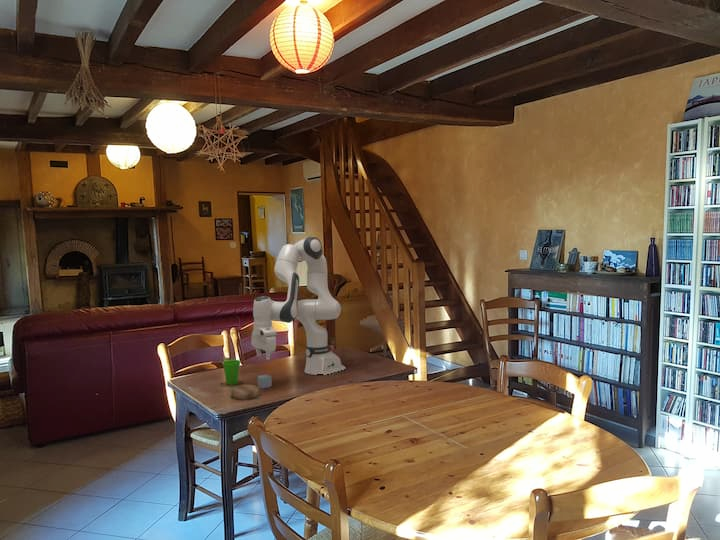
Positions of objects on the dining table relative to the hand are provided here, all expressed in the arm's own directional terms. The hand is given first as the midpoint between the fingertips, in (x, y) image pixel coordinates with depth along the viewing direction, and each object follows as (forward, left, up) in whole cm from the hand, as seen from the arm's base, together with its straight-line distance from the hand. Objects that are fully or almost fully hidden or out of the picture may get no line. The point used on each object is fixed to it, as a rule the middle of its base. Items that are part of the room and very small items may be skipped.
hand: (263, 358), depth 247 cm
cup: (+11, -14, -14) cm, 23 cm away
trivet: (+13, +7, -14) cm, 20 cm away
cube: (0, 0, -14) cm, 14 cm away
